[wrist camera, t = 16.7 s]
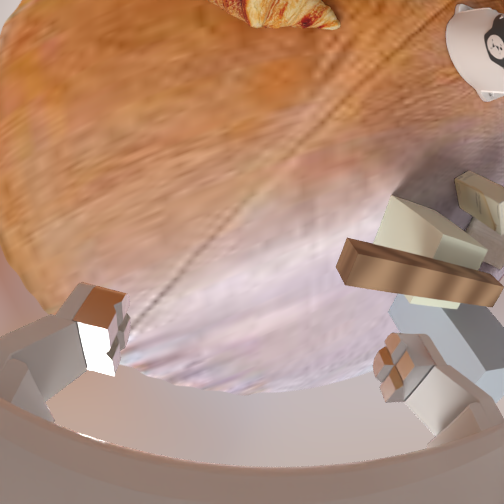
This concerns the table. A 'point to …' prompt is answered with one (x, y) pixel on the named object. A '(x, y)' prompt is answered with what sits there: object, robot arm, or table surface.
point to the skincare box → (481, 199)
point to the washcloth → (488, 242)
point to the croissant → (281, 13)
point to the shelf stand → (459, 339)
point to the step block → (427, 240)
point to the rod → (414, 275)
